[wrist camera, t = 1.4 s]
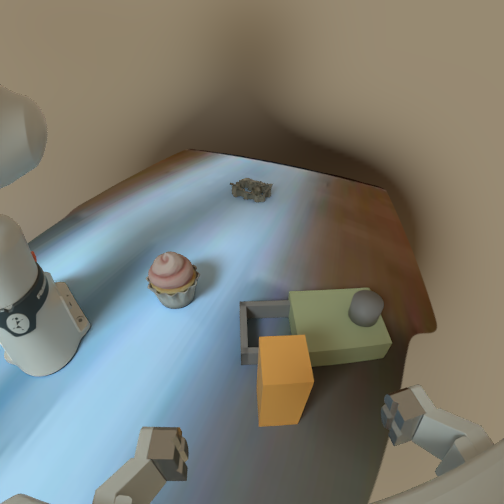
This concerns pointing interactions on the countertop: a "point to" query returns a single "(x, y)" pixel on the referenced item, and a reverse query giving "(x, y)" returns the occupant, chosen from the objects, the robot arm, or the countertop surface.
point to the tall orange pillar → (283, 379)
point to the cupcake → (173, 280)
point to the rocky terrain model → (251, 189)
